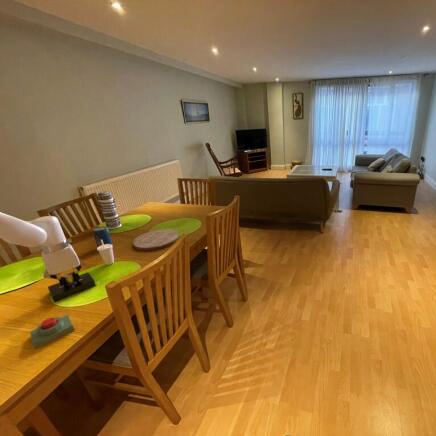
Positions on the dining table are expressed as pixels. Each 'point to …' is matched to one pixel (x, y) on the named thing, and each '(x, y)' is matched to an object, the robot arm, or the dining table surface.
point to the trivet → (156, 239)
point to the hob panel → (71, 287)
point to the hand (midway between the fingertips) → (70, 282)
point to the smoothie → (106, 253)
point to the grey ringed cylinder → (109, 210)
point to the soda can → (102, 236)
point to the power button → (48, 323)
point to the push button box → (51, 332)
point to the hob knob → (69, 279)
